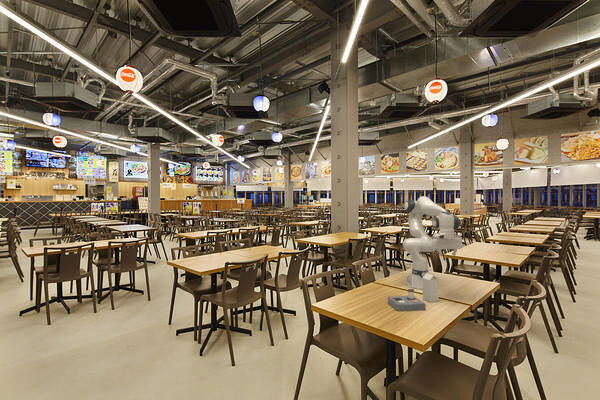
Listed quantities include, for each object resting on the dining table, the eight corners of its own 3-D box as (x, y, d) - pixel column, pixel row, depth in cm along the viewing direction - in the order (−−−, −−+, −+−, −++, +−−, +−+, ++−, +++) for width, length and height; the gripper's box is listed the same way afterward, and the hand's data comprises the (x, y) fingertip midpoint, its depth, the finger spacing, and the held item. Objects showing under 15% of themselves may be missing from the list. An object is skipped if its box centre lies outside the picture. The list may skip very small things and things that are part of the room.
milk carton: (430, 302, 194) (429, 274, 194) (422, 299, 201) (422, 271, 201) (438, 301, 196) (438, 273, 196) (431, 298, 203) (430, 271, 203)
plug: (407, 304, 191) (407, 288, 191) (412, 303, 192) (412, 288, 192) (409, 305, 188) (409, 290, 188) (415, 305, 188) (414, 290, 188)
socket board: (387, 302, 194) (387, 296, 195) (413, 301, 196) (413, 295, 196) (397, 311, 179) (397, 304, 179) (425, 310, 180) (425, 303, 180)
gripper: (458, 234, 201) (458, 254, 201) (430, 235, 199) (430, 255, 199) (464, 235, 195) (464, 256, 194) (435, 236, 193) (435, 256, 193)
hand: (447, 255), depth 197 cm, fingers open, 8 cm apart
